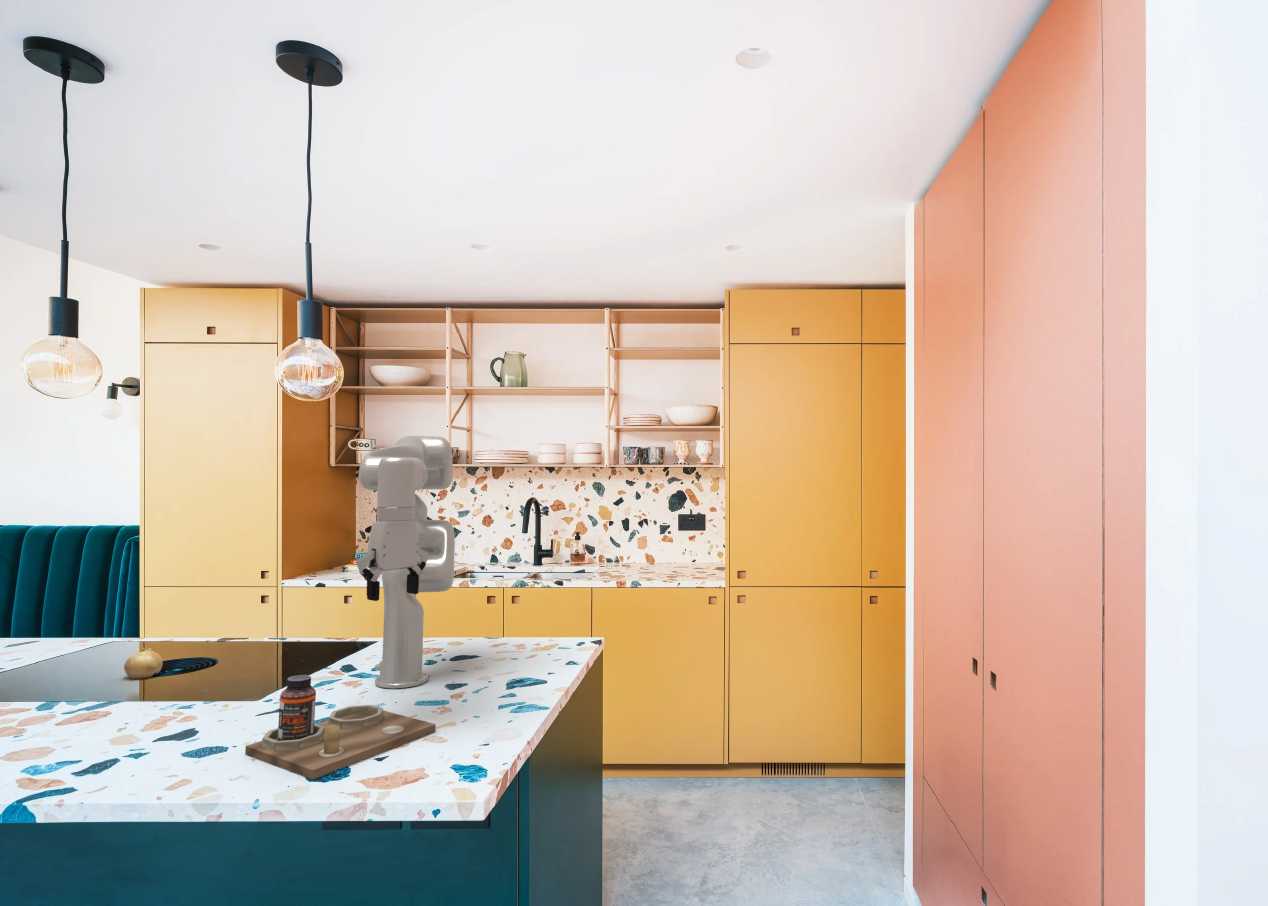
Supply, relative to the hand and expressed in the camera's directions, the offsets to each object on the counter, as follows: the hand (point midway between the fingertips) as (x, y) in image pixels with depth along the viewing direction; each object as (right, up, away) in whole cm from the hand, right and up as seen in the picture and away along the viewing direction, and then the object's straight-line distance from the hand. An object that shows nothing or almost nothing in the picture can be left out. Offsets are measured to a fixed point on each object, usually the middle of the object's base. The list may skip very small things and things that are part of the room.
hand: (393, 596), depth 138 cm
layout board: (-4, -24, -15) cm, 29 cm away
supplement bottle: (-11, -23, -18) cm, 31 cm away
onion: (-74, -27, +29) cm, 84 cm away
